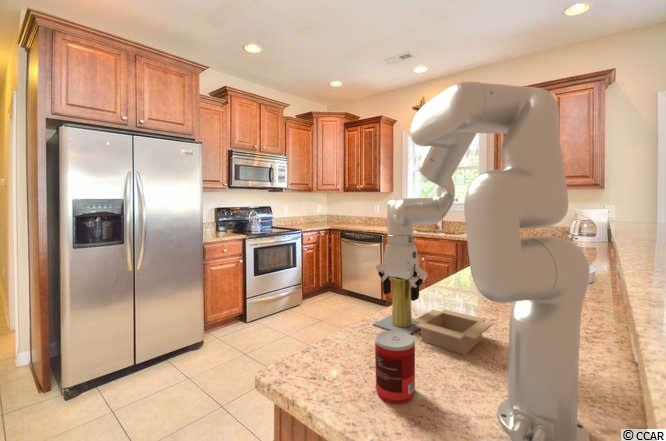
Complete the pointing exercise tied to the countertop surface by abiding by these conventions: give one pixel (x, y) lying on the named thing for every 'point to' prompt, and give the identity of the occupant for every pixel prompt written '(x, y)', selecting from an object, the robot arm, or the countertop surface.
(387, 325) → the mat
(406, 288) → the vase
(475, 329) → the carton
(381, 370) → the canned food
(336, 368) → the countertop surface
